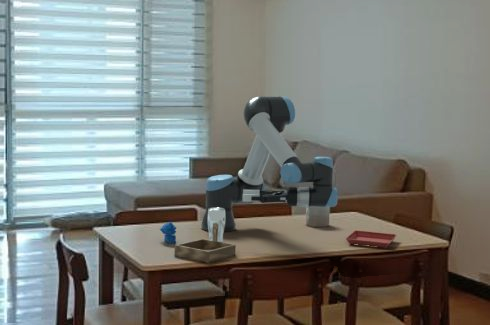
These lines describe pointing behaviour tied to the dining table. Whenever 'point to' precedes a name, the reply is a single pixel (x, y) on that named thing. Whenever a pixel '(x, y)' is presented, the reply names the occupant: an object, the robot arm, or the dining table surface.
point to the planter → (317, 216)
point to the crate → (205, 250)
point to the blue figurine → (169, 232)
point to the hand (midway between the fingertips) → (242, 195)
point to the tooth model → (216, 223)
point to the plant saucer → (370, 238)
